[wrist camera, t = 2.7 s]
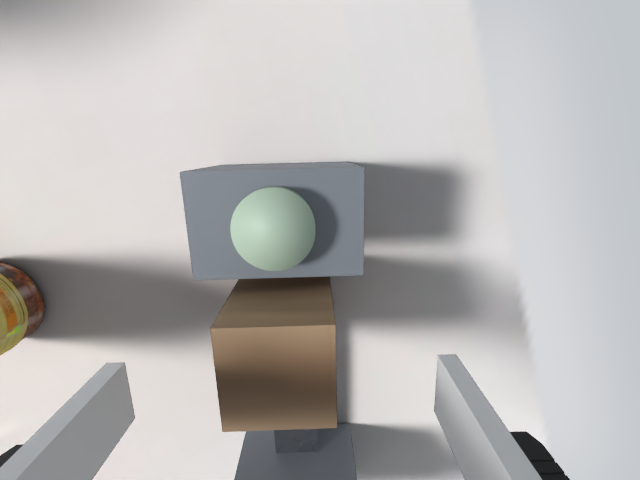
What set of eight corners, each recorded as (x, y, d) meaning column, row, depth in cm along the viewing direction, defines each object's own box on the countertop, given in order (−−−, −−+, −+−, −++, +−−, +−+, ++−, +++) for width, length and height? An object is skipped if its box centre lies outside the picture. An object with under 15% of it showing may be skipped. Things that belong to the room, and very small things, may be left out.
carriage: (250, 259, 22) (210, 328, 14) (327, 257, 22) (335, 324, 14) (255, 328, 23) (222, 431, 15) (328, 326, 23) (337, 428, 15)
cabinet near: (222, 165, 22) (170, 173, 14) (348, 161, 22) (367, 168, 14) (229, 241, 23) (185, 288, 15) (348, 238, 23) (366, 283, 15)
